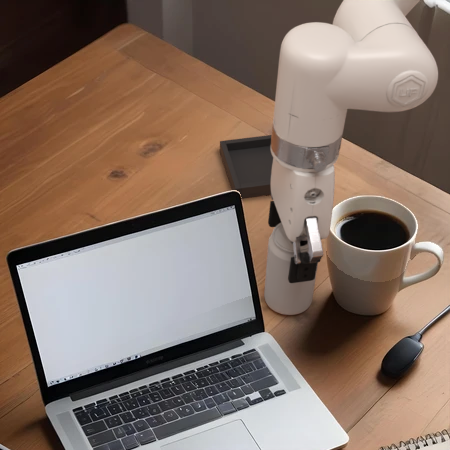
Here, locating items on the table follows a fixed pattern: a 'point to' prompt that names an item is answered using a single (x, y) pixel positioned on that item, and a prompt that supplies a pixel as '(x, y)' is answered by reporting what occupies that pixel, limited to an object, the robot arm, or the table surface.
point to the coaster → (248, 165)
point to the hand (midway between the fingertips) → (290, 251)
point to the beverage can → (285, 276)
